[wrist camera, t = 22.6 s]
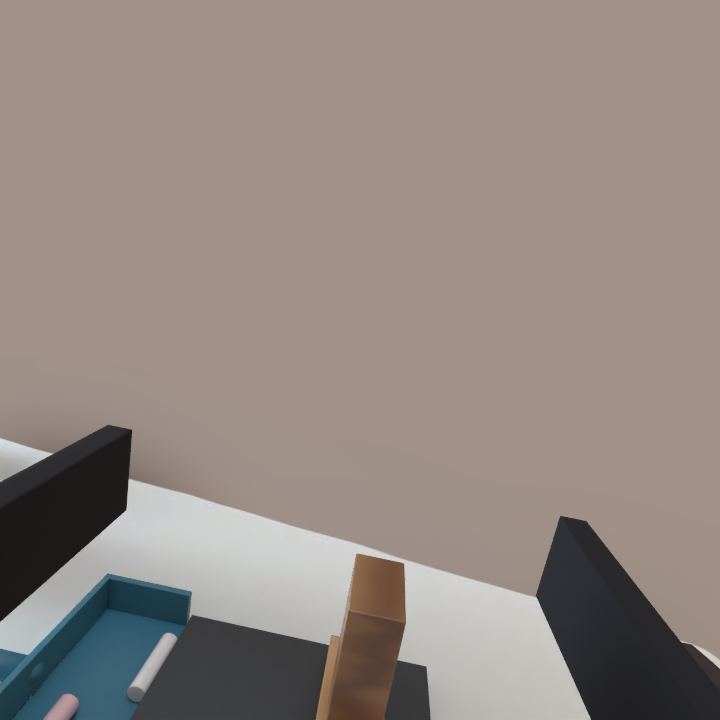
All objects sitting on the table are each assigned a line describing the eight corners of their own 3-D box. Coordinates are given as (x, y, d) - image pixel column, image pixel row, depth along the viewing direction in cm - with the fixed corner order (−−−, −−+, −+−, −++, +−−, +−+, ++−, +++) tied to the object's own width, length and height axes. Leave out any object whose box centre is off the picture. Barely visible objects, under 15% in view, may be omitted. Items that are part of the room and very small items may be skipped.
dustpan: (188, 624, 37) (192, 591, 37) (37, 876, 22) (39, 827, 21) (20, 587, 38) (21, 554, 37) (-243, 805, 22) (-250, 755, 22)
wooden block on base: (290, 859, 23) (327, 664, 20) (326, 660, 34) (352, 521, 32) (372, 880, 22) (420, 685, 20) (380, 672, 34) (411, 533, 32)
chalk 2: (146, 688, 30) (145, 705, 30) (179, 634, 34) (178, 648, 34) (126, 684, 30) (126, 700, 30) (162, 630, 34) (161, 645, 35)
